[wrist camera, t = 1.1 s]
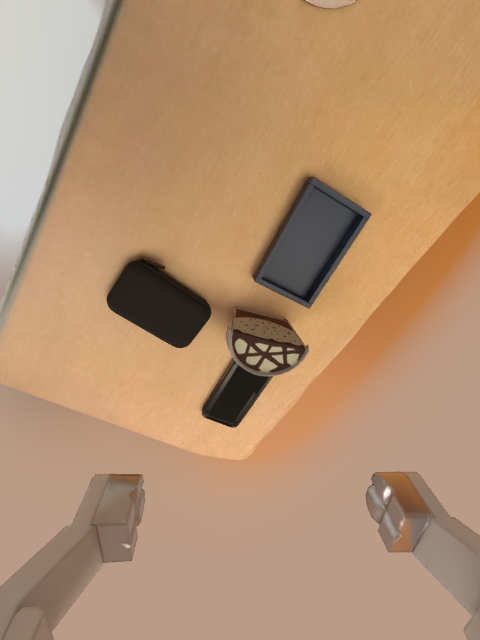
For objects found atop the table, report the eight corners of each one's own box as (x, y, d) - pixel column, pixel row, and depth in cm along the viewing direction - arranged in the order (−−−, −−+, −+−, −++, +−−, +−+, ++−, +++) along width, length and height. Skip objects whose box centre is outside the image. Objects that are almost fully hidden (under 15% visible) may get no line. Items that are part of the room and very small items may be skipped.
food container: (216, 336, 50) (216, 369, 41) (226, 304, 48) (228, 332, 39) (283, 352, 53) (296, 386, 44) (295, 322, 50) (312, 352, 41)
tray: (308, 177, 41) (313, 176, 39) (364, 212, 43) (371, 214, 41) (252, 276, 46) (254, 281, 44) (305, 303, 49) (309, 308, 47)
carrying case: (220, 300, 48) (139, 246, 43) (220, 307, 45) (133, 250, 41) (184, 347, 51) (105, 300, 46) (182, 356, 48) (98, 308, 44)
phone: (200, 415, 56) (238, 356, 51) (200, 411, 57) (237, 352, 52) (236, 429, 58) (276, 373, 53) (235, 425, 59) (274, 369, 54)
